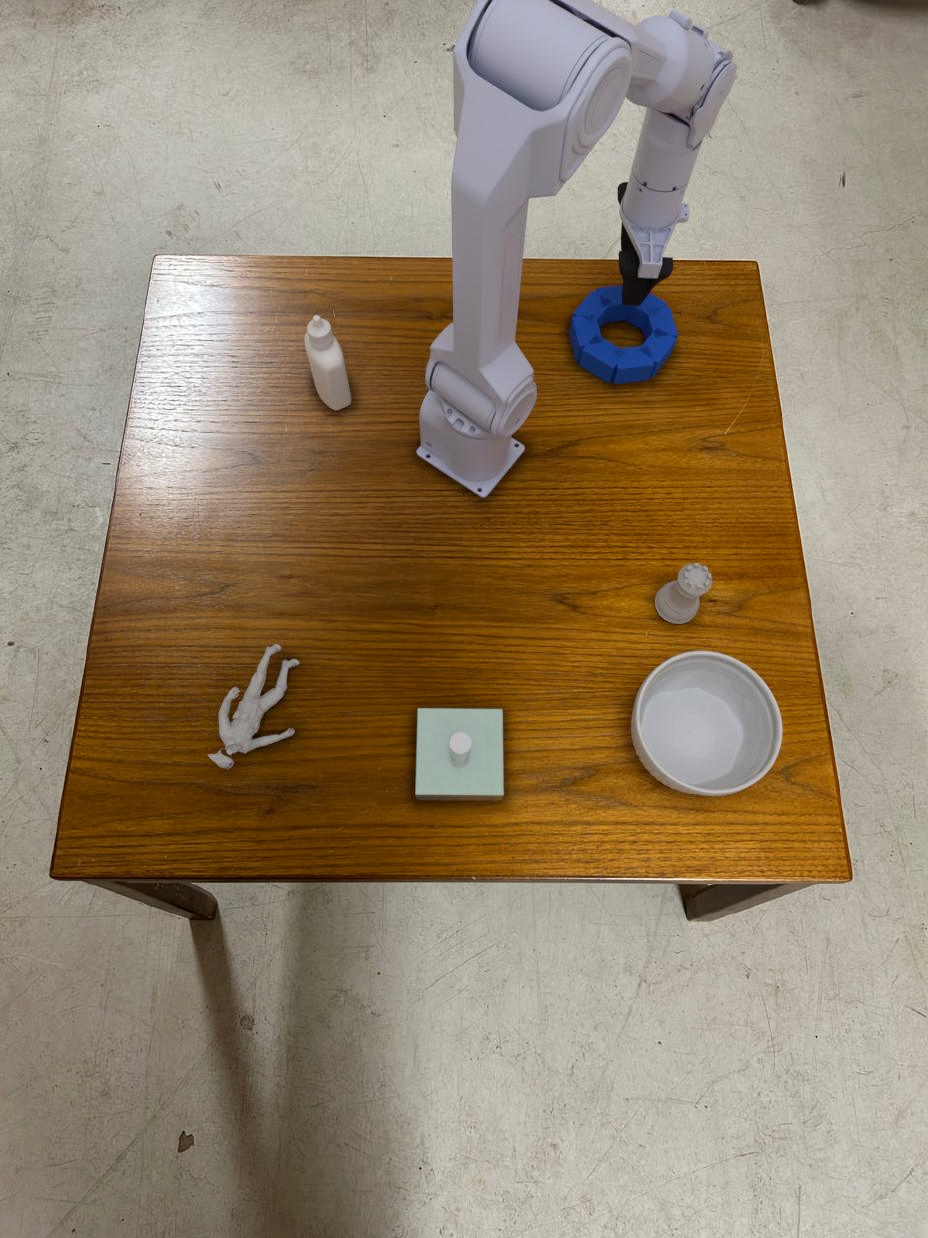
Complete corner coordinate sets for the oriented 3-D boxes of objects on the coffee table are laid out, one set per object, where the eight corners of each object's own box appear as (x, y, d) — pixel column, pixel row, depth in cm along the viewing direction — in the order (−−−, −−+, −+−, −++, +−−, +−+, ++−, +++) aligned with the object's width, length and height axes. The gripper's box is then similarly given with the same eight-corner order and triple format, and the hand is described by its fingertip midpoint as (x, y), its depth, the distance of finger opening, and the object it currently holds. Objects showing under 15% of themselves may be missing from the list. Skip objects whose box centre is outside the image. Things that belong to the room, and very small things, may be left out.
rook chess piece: (694, 629, 80) (719, 601, 72) (650, 620, 80) (672, 592, 73) (698, 589, 81) (723, 558, 74) (656, 581, 82) (677, 549, 74)
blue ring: (552, 349, 91) (555, 333, 89) (605, 287, 95) (609, 269, 92) (635, 399, 89) (641, 384, 87) (687, 334, 92) (694, 317, 90)
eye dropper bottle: (353, 371, 90) (339, 295, 78) (351, 412, 88) (337, 341, 77) (315, 370, 90) (296, 294, 78) (312, 412, 88) (292, 340, 76)
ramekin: (629, 808, 74) (647, 799, 67) (611, 674, 78) (626, 653, 72) (766, 798, 74) (797, 789, 68) (740, 666, 79) (767, 645, 72)
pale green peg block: (416, 800, 73) (413, 789, 66) (418, 717, 76) (415, 697, 69) (501, 800, 74) (507, 789, 66) (500, 717, 76) (506, 698, 69)
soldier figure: (322, 678, 78) (276, 783, 71) (292, 687, 81) (245, 789, 74) (266, 631, 74) (211, 738, 67) (236, 643, 77) (180, 746, 70)
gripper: (706, 230, 73) (668, 329, 86) (699, 118, 78) (663, 228, 90) (631, 225, 73) (604, 326, 86) (628, 114, 78) (603, 224, 90)
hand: (630, 275), depth 88 cm, fingers open, 7 cm apart
